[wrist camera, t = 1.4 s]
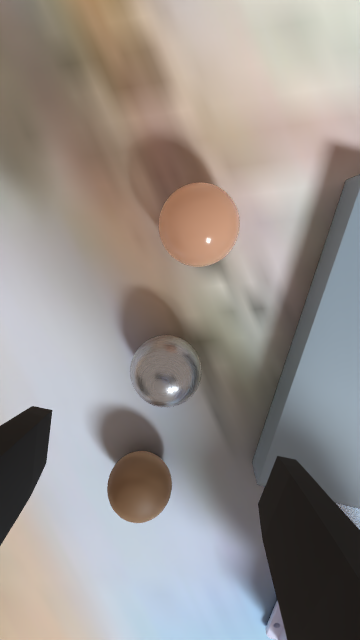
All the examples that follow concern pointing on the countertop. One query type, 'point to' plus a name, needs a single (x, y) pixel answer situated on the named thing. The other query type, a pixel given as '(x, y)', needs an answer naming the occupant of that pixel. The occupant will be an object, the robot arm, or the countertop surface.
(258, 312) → the countertop surface
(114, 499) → the walnut ball
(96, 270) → the countertop surface
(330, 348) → the hole plate
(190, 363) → the steel ball
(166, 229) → the terracotta ball
